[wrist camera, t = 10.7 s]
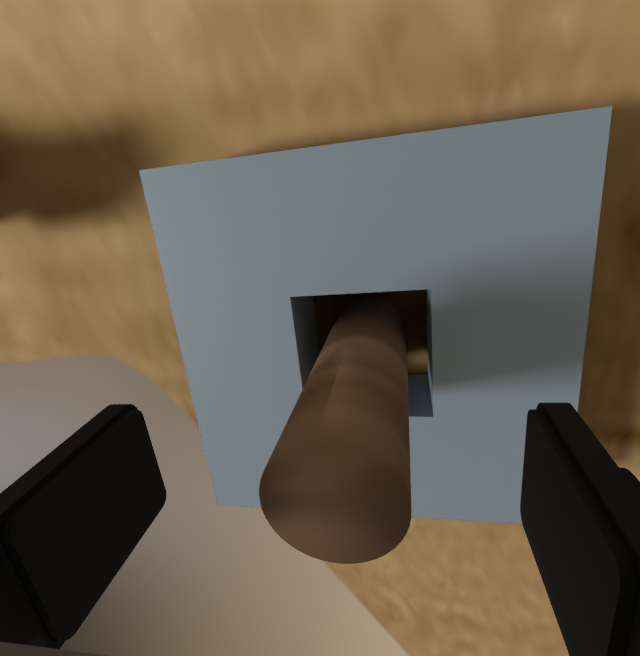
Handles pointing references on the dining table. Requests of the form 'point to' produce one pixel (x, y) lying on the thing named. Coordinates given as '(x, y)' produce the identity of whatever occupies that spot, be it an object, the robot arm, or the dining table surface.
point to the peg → (347, 442)
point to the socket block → (390, 289)
